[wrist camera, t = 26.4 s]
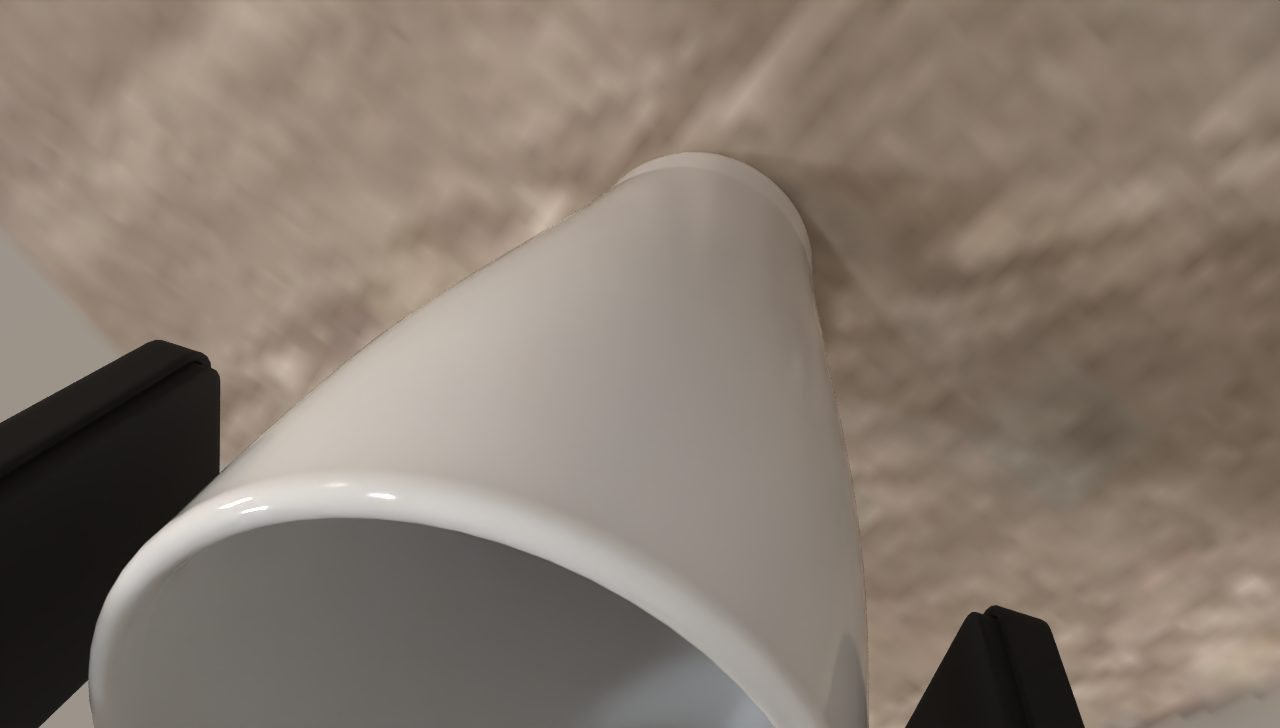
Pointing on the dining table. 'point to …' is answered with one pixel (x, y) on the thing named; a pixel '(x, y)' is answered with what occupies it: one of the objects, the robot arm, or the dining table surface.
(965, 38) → the dining table surface
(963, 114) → the dining table surface
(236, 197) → the dining table surface
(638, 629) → the drinking glass
